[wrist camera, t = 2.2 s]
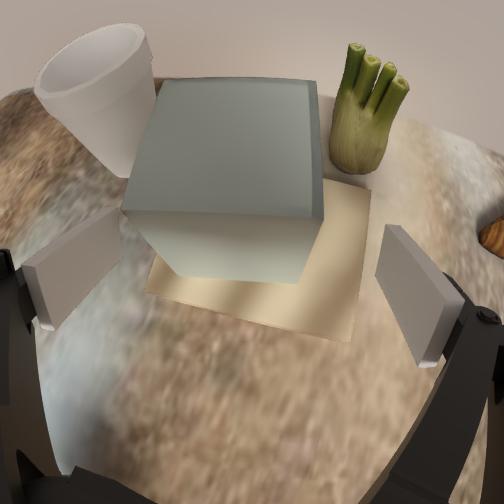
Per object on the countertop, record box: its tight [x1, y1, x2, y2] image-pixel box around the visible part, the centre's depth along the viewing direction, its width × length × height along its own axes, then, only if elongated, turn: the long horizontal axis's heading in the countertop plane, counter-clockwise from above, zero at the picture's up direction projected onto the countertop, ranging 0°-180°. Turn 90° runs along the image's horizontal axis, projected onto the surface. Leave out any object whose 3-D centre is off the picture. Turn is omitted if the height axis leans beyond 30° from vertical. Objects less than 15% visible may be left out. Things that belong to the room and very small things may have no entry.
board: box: [144, 178, 371, 342], centre depth 25 cm, size 16×13×1 cm
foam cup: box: [34, 23, 157, 178], centre depth 23 cm, size 10×9×13 cm
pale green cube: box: [120, 77, 324, 284], centre depth 20 cm, size 9×9×11 cm
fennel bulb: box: [329, 43, 409, 175], centre depth 23 cm, size 6×5×12 cm
